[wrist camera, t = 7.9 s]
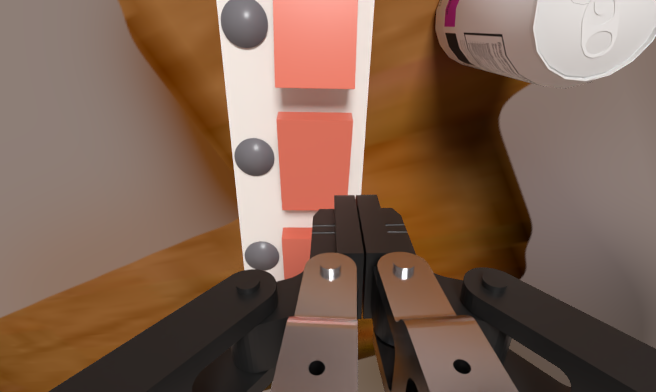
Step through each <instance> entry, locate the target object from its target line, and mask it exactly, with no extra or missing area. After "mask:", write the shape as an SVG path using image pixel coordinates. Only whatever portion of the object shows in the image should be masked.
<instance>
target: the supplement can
mask: <svg viewBox="0 0 656 392" xmlns="http://www.w3.org/2000/svg"><path fill="white" fill-rule="evenodd" d="M435 30H436V33H437V37H438V40H439V44H440V46H441V47H442V49H443V50H444V51H445V53H446V54H447V55H448V57H449V58H451V59H453V60H455V61H456V62H458V63H460V64H462V65H465V66H469V67H473V68H477V69H480V70H484V71H488V72H492V73H495V74H499V75H503V76H507V77H510V78H514V79H518V80H521V81H525V82H529V83H533V84H537V85H540V86H546V87H556V88H570V87H574V86H578V85H582V84H586V83H589V82H592V81H594V80H596V79H598V78H601V77H605V76H609V75H611V74H613V73H614V72H615V71H618V70H619V69H621V68H623V67H624V66H626V65H628V64H629V63H631V62H633V61H634V60H635V59H636V57H638V56H639V55H640V54H641V53H642V52H643V50H645V49H646V48H647V47H648V46H649V45H650V43H652V42H653V40H654V39H655V37H656V0H440V2H439V5H438V7H437V10H436V25H435Z"/></svg>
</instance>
